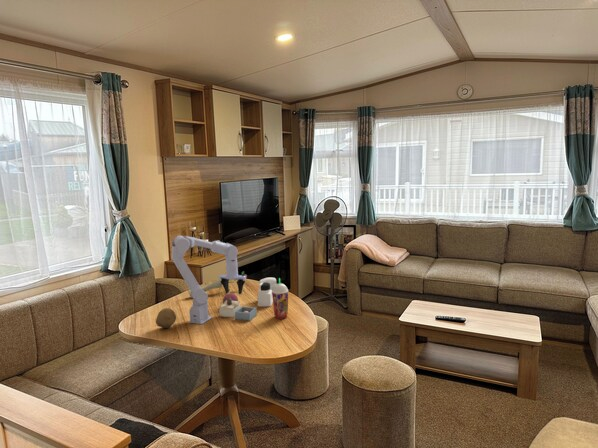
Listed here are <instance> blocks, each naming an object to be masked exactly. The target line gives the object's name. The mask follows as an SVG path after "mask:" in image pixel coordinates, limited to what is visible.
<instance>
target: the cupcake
mask: <svg viewBox="0 0 598 448" xmlns="http://www.w3.org/2000/svg"><path fill="white" fill-rule="evenodd" d="M227 298H231V300H232V301H239V299H238V296H237V295H236V294H234V293H233V292H228V293H225V295H224V296H223V298H222V304H223V303H224V302H225V301H226V300H227Z"/></svg>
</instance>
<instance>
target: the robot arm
mask: <svg viewBox="0 0 598 448" xmlns="http://www.w3.org/2000/svg"><path fill="white" fill-rule="evenodd" d="M194 247H201V248H204V249H205V248H206V249H210V251H211V252H212V253H216V254H219V255H225V265H226V267H225V268H226V269H225V270H226V274H220V275H219V276H218V278H219V279H220V282H221V284H222V288H223V289H224V292H225V294H228V293H230V291H229V289H230V283H229V282H230V281H234V280H235V281H236V285H237V289H238V294H239V295H242V293H243V288H244V285H245V284H246V283H245V282H246V281H247V278H246V276H244V275H242V274H239V271H238V270H239V268H238V267H239V266H238V254H239V250H238V248H237V246H236V245H233V244H231V243H229V242H226V243H225V242H222V241H220V240H218V239H217V240H213V241H208V240H204V239H200V238H198V237H193V236H188V235H180V234H178V235H176V236H175V237H174V238H173V240H172V242H171V260H172V262H173V263H174V265H175V266H176V268H177V270H178V271H179V273H180V275H181V277H182V278H183V280H184V282H185V283H186V285H187V286H188V288H189V290H191V295H192V298H191V299H192V306H191V307H190V309H189V310H188V311H189V312H188V313H189V321H188V323H189V324H197V325H203V324H205V323H206V322H207V321H210V320H211V319H212V318H213V316H211V315H209V305H208V302H209V301H208V300H209V295H208V293H207V292H204V291H203V289H202V288H201V287H202V286H201V285H200V284H199V282H198V281H197V279H196V277H195V275H194V274H193V272H192V271H191V269H190V268H189V265H188V264H187V262H186V260H185V259H184V256H185V253H186V252H187V251H188V250H189V248H191V249H192V248H194ZM238 280H239V281H238ZM245 280H246V281H245Z"/></svg>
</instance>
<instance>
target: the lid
mask: <svg viewBox="0 0 598 448" xmlns="http://www.w3.org/2000/svg"><path fill="white" fill-rule="evenodd" d="M237 305H240V301H239V300H238V301H232V300H231V298H227V300H226V301H225V302H224V303H223V302H222V304H221V305H220V307H219V309H229V310H234V308H235V307H236V306H237Z"/></svg>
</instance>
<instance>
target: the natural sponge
mask: <svg viewBox="0 0 598 448" xmlns="http://www.w3.org/2000/svg"><path fill="white" fill-rule="evenodd" d="M176 321H177V315H176V313H175V311H174V310H173V309H172V308H169V307H167V308H166V307H165V308H162V309H160V311H159V312H158V313H157V316H156V318H155V324H156V326H158V327H159V328H162V329H165V328H168V329H169V327H170V328H171V327H172V326H173V325H174V323H175V322H176Z"/></svg>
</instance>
